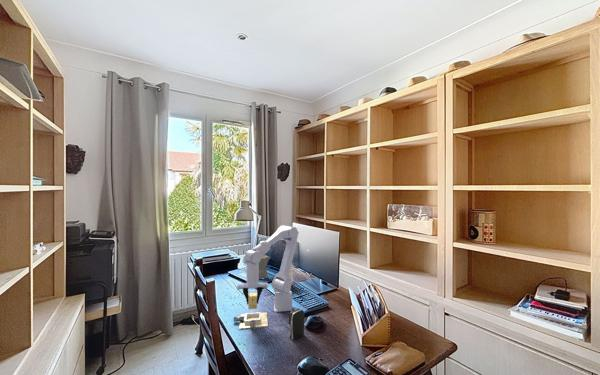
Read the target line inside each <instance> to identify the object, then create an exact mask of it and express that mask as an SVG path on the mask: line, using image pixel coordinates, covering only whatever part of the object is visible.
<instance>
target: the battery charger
mask: <svg viewBox="0 0 600 375" xmlns="http://www.w3.org/2000/svg"><path fill="white" fill-rule="evenodd" d="M288 325H289V326H290V335H289V338H290V339H291V340H292V341H295V340H297V339H299V338H300V337H302V336H304V335H305V311H304V310H303V309H301V308H296V309H292V311H290V312H289V313H288Z"/></svg>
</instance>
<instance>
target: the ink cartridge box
mask: <svg viewBox="0 0 600 375" xmlns="http://www.w3.org/2000/svg"><path fill="white" fill-rule="evenodd" d="M289 276H290V277H291V279H292V280H291V285H292V284H293V285H294V264H293V263H292V264H291V268H290V272H289ZM281 279H282V278H281ZM283 280H284V279H283Z"/></svg>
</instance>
